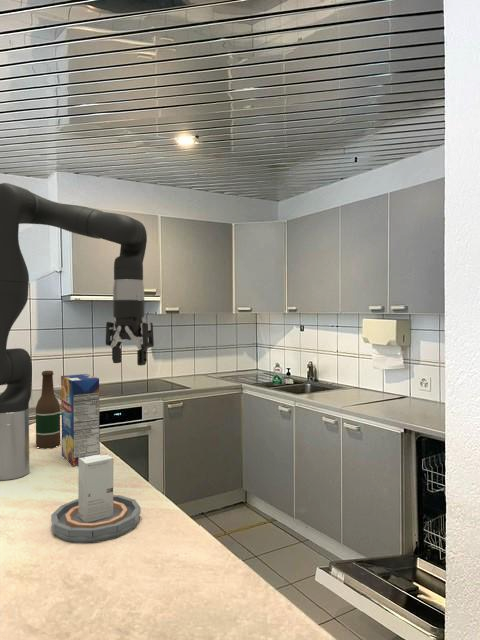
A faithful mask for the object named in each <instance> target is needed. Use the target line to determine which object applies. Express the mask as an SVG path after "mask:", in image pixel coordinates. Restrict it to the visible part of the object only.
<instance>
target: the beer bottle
mask: <svg viewBox="0 0 480 640" xmlns="http://www.w3.org/2000/svg"><path fill="white" fill-rule="evenodd" d="M53 375H54V371H53V370H44V371H41V376H42V381H41V383H42V384H41V396H40V397H39V399H38V401H37V404H36V405H35V445H36V448H37V447H39V448H38V449H40V448H50V449H54V448H53V447H55V448H57V447H56V446H58V447H60V446H61V406H60V403H59V400H58V398H57V397H56V395H55V391H54V377H53ZM59 445H60V446H59Z"/></svg>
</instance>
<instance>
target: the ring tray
mask: <svg viewBox="0 0 480 640" xmlns="http://www.w3.org/2000/svg"><path fill="white" fill-rule="evenodd" d="M141 510H142V509H141V506H140V504H139V503H138V501H137V500H136V499H134V498H131V497H128V496H124V495H120V494H113V516H111V517H108V518H104V519H100V520H96V521H92V522H88V523H84V522H83V521H82V520H81V519H80V517H79V516H78V498H77V499H74V500H71V501H69V502H65V503H64V504H61V505H60V506H59V507H58V508H56V510H54V511H53V513H52V514H50V522H51V525H52V528H51V530H52V531H51V532H52V533H53V535H54V536H55V537H56V538H58V539H59V540H62V541H64V542H67V543H76V544H89V543H90V544H91V543H100V542H103V541H108V540H113V539H116V538H119V537H122V536H124V535H126V534H128V533H129V532H131V531H132V530H133V529H135V527H136V526H137V525H138V524H139V521H140V516H141Z"/></svg>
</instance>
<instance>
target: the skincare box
mask: <svg viewBox="0 0 480 640" xmlns="http://www.w3.org/2000/svg"><path fill="white" fill-rule="evenodd" d="M78 461H79V466H78V475H77V476H78V477H77V478H78V479H77V481H78V483H77V485H78V486H77V489H78V490H77V491H78V497H77V499H78V516H79V517H80V519H81V520H82V521H83V522H84V523H88V522H92V521H96V520H100V519H104V518H108V517H111V516H113V495H114V457H113V456H111V455H110V454H107V453H100V455H93V456H88V457H83V458H79V460H78Z"/></svg>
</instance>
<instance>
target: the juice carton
mask: <svg viewBox="0 0 480 640" xmlns="http://www.w3.org/2000/svg"><path fill="white" fill-rule="evenodd" d="M60 387H61V388H60V391H61V392H60V395H61V397H60V400H61V402H60V404H61V406H60V417H61V457H62V456H63V457H64V458H63V457H62V458H63V459H64V460H65V459H66V460H67V461H68V462H69V463H70V464H71V467H73V468H75V467H76V466H77V467H79V461H78V460H79V458H83V457H88V456H93V455H100V454H101V453H100V450H101V447H100V445H101V443H100V442H101V441H100V440H101V439H100V438H101V436H100V434H101V433H100V430H101V429H100V426H101V425H100V378H99V377H96V376H94V375H90V374H88V373H84V374H83V373H82V374H81V373H80V374H71V375H61V376H60ZM66 460H65V461H66ZM67 461H66V462H67ZM68 462H67V463H68ZM69 463H68V464H69ZM70 464H69V465H70Z"/></svg>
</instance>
